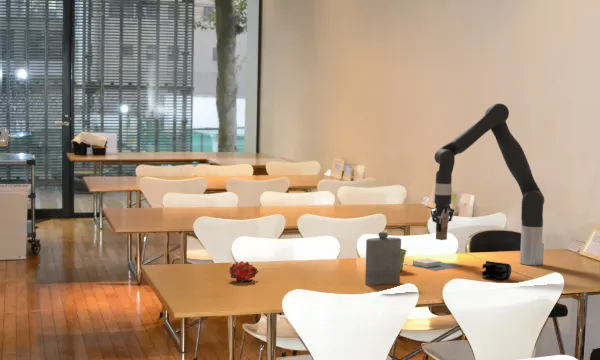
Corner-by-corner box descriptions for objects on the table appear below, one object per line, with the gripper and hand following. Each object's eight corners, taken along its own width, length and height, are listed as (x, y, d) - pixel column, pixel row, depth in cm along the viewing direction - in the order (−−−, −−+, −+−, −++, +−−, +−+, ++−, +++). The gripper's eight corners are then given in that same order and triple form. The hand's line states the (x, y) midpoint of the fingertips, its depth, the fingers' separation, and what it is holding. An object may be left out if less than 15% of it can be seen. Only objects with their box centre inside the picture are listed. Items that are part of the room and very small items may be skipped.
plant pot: (388, 272, 349) (389, 252, 348) (380, 268, 358) (381, 248, 357) (409, 271, 351) (410, 251, 350) (401, 267, 360) (401, 248, 359)
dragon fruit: (225, 285, 324) (255, 288, 328) (232, 275, 317) (262, 279, 321) (225, 265, 328) (254, 268, 332) (231, 256, 322) (261, 259, 326)
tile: (440, 261, 364) (426, 263, 359) (440, 265, 365) (426, 267, 359) (427, 258, 371) (412, 260, 365) (426, 263, 371) (412, 265, 365)
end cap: (511, 279, 340) (511, 263, 339) (504, 282, 334) (504, 265, 333) (488, 276, 346) (488, 260, 345) (481, 278, 340) (481, 262, 339)
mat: (463, 267, 364) (463, 266, 363) (435, 271, 352) (435, 270, 352) (426, 260, 381) (426, 259, 381) (398, 263, 370) (398, 262, 370)
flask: (394, 280, 332) (395, 230, 330) (402, 283, 327) (403, 232, 325) (361, 283, 326) (363, 232, 324) (369, 286, 320) (370, 234, 319)
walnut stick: (446, 239, 377) (447, 213, 376) (441, 240, 375) (442, 213, 374) (441, 238, 380) (442, 212, 379) (435, 239, 378) (436, 212, 377)
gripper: (438, 194, 368) (437, 233, 370) (459, 193, 377) (458, 231, 378) (426, 193, 374) (424, 231, 375) (447, 192, 383) (446, 229, 384)
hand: (441, 231), depth 377 cm, fingers closed on walnut stick, 3 cm apart
